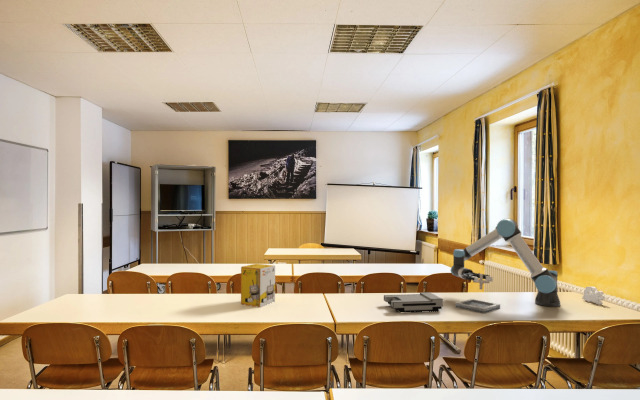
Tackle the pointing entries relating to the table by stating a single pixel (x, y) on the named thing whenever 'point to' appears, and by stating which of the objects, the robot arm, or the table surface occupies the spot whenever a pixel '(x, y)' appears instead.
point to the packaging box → (257, 284)
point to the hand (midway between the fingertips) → (485, 279)
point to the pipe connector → (481, 281)
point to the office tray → (415, 302)
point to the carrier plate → (478, 305)
